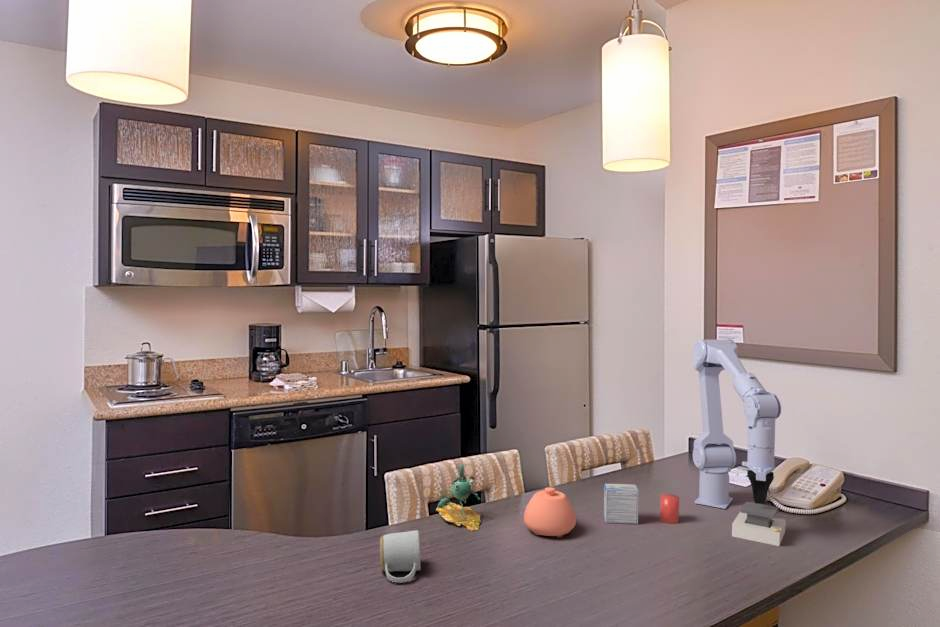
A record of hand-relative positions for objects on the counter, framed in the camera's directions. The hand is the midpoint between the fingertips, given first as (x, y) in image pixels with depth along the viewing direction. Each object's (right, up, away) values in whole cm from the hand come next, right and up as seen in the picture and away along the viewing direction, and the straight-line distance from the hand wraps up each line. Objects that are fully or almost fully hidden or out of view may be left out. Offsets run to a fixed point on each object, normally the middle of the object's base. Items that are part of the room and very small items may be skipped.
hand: (759, 503), depth 149 cm
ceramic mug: (-82, -8, -21) cm, 85 cm away
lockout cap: (-18, -7, +9) cm, 22 cm away
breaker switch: (0, -5, 0) cm, 5 cm away
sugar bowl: (-49, -7, +2) cm, 49 cm away
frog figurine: (-70, -7, +9) cm, 72 cm away
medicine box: (-31, -7, +8) cm, 33 cm away
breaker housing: (0, -7, 0) cm, 7 cm away
